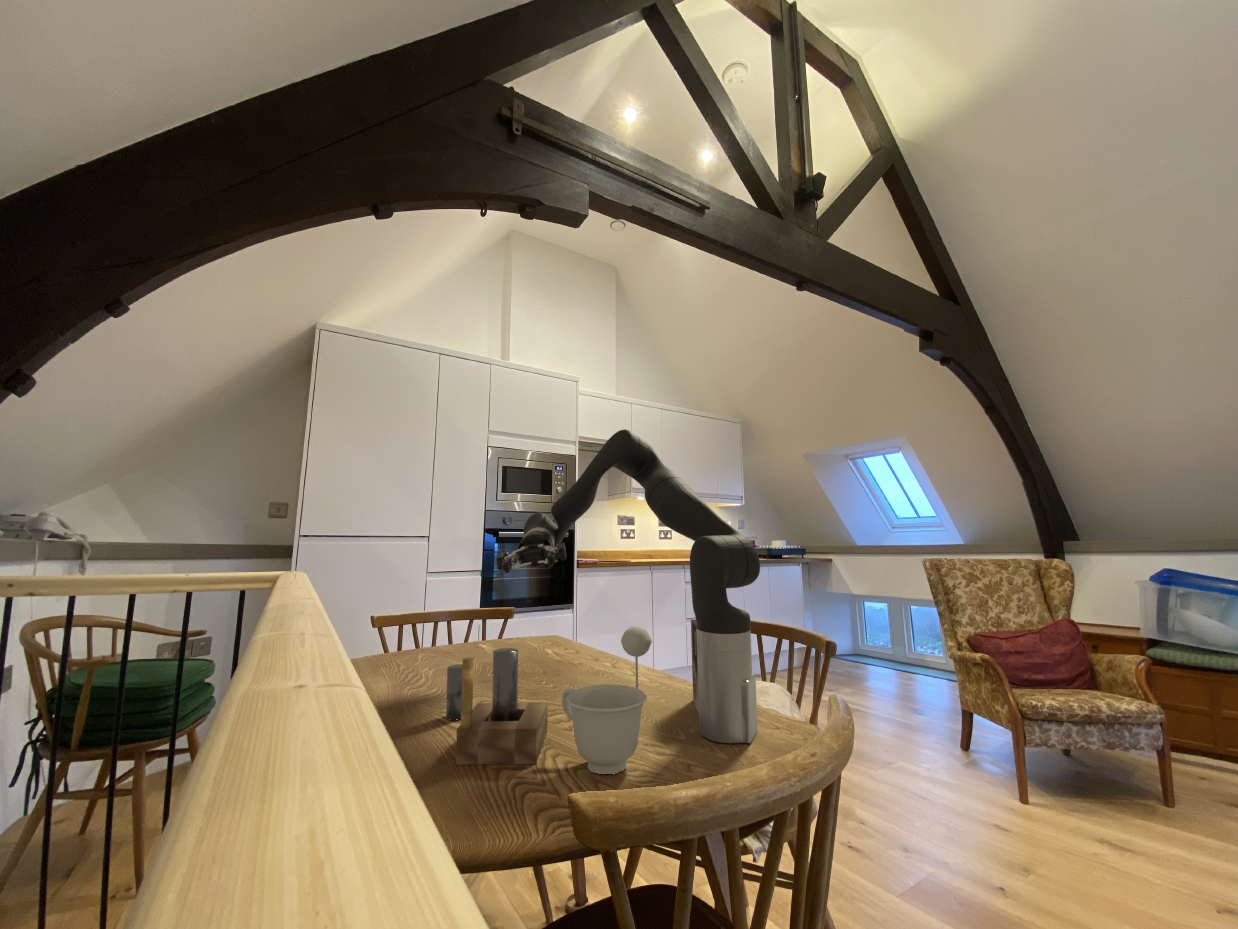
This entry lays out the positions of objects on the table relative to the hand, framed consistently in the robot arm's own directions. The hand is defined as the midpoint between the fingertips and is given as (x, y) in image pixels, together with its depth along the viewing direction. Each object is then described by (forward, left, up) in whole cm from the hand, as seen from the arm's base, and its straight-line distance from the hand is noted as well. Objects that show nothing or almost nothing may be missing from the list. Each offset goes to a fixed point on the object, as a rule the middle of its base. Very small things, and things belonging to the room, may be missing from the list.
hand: (528, 565), depth 106 cm
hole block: (-7, +16, -28) cm, 32 cm away
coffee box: (-32, -16, -28) cm, 45 cm away
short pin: (+10, +8, -28) cm, 31 cm away
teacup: (-23, +15, -28) cm, 39 cm away
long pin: (-7, +16, -28) cm, 32 cm away
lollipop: (-18, -12, -28) cm, 35 cm away
